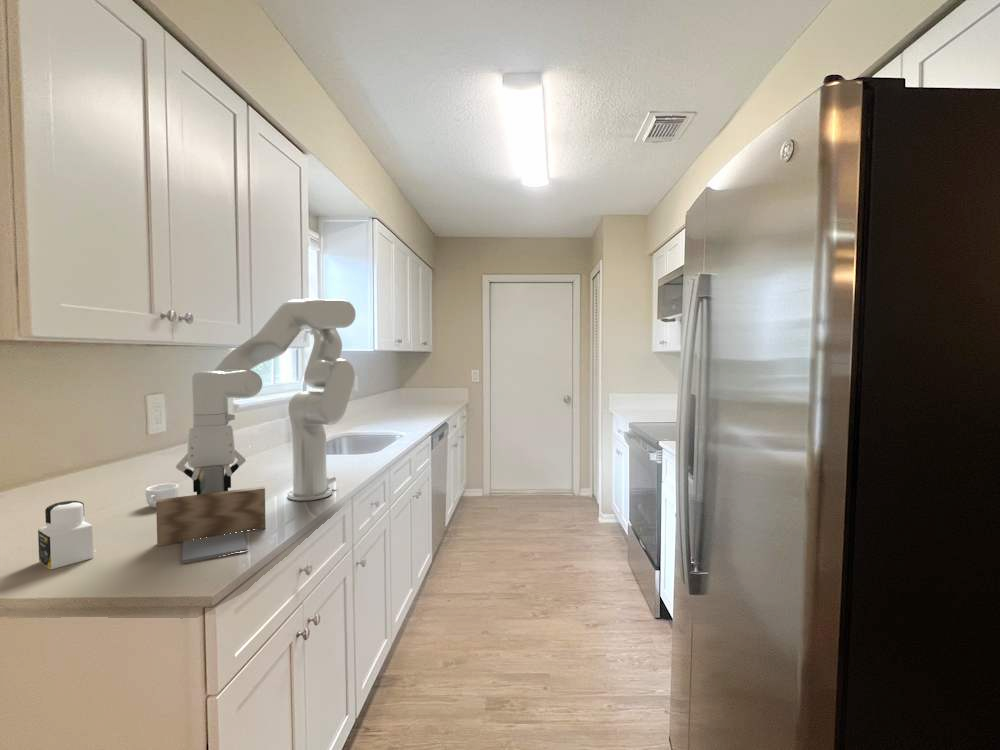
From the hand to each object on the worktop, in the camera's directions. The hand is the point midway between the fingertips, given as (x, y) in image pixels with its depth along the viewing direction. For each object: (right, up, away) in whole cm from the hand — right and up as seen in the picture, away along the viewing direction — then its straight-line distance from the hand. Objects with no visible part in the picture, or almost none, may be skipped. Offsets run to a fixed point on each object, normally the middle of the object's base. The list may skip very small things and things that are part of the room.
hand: (212, 492), depth 124 cm
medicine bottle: (-18, -10, -21) cm, 29 cm away
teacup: (-23, -8, +15) cm, 29 cm away
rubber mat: (+9, -9, -14) cm, 19 cm away
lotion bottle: (0, -9, 0) cm, 9 cm away
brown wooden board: (+4, -9, -7) cm, 12 cm away
